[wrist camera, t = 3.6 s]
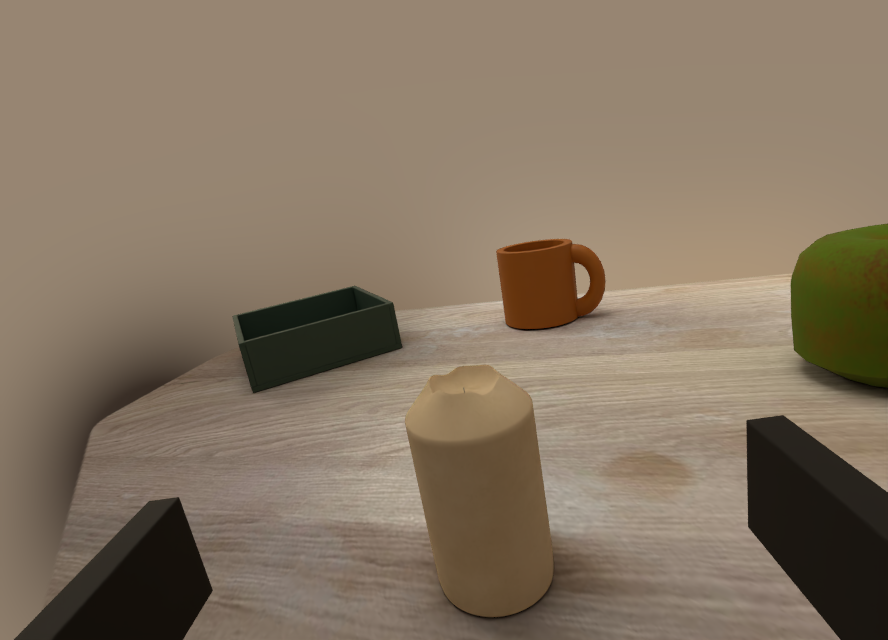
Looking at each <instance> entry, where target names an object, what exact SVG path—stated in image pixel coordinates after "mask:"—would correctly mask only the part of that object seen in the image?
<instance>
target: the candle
mask: <svg viewBox="0 0 888 640" xmlns="http://www.w3.org/2000/svg"><path fill="white" fill-rule="evenodd" d="M405 424H406V429H407V434H408V439H409V443H410V448H411V453H412V457H413V462H414V467H415V472H416V476H417V481H418V486H419V490H420V495H421V500H422V504H423V509H424V514H425V518H426V523H427V528H428V533H429V537H430V542H431V547H432V551H433V556H434V561H435V565H436V569H437V573H438V578H439V582H440V584H441V587H442V589H443V591H444V593H445V595H446V596H447V598H448V599H449V600H450V601H451V602H452V603H453V604H454V605H455V606H457V607H458V608H460V609H461V610H463V611H465V612H468V613H470V614H474V615H477V616H484V617H501V616H507V615H511V614H515V613H518V612H520V611H522V610H525V609H527V608H528V607H530V606H532V605H533V604H534V603H536V602H537V601H538V600H539V599H540V598H541V597H542V596H543V595H544V594H545V592H546V591H547V590H548V588H549V586H550V584H551V581H552V578H553V570H554V560H553V551H552V543H551V535H550V528H549V521H548V513H547V506H546V498H545V491H544V484H543V476H542V469H541V462H540V454H539V447H538V440H537V432H536V425H535V418H534V411H533V404H532V399H531V397H530V395H529V394H528V393H527V392H526V391H524V390H523V389H522V388H520V387H519V386H517V385H516V384H515V383H513V382H512V381H510V380H509V379H507V378H506V377H504V376H503V375H501V374H500V373H499V372H497V371H496V370H495V369H494V368H493V367H491V366H489V365H479V366H462V367H458V368H456V369H454V370H453V371H452V372H450V373H449V374H447V375H433V376H431V377H430V378H429V380H428V382H427V384H426V385H425V387H424V389H423V390H422V392H421V393H420V395H419V396H418V398H417V399H416V401H415V402H414V403H413V405H412V406H411V408H410V409H409V411H408V413H407V414H406V418H405Z"/></svg>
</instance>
